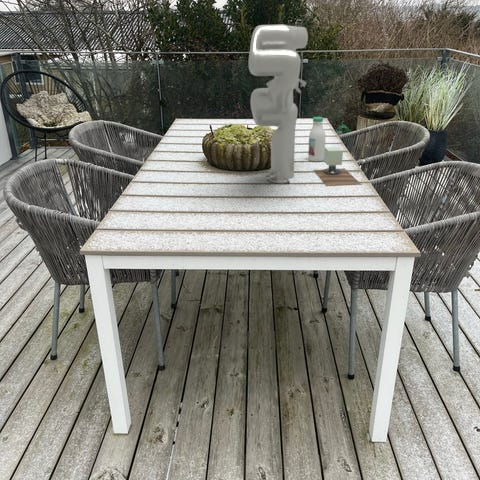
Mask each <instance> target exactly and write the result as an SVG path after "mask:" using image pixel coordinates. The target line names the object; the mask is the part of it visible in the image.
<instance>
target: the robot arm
mask: <svg viewBox="0 0 480 480" xmlns="http://www.w3.org/2000/svg"><path fill="white" fill-rule="evenodd" d="M308 39H309V34H308V30H307V28H306V27H305V26H295V25H287V24H284V23H282V24H261V25H260V24H259V25H257V26H256V27H255V28H254V30H253V32H252V34H251V40H250V46H249V48H250V49H249V55H248V70H249V72H250V74H251V75H253V76H255V77H271V76H272V77H274V78H273V79H271V80H270V81H268V82H266V83H265V84H266V87H260V88H256V89H253V91H252V92H251V95H250V110H251V114H252V118H253V121H254V124H255V125H256V126H258V127H276V129H275V131H274V132H273V133H272V134H271V137H270V162H271V163H270V169H268V172H267V173H262V175H261V177H262V179H267V180H268V182H270V183H272V184H273V183H275V184H291V182H290V180H291V179H294V177H295V147H296V145H295V143H296V141H295V139H296V125H297V118H298V110H299V109H298V106H297V105H296V104H298V103H299V102H300V100H301V93H302V91H304V90H305V87H306V85H307V81H306V80H303V79H301V78H299V77H300V72H301V56H300V54H299V53H298V52H297V50H298V49H304V48H306V46H307V44H308ZM299 83H301V86H300V87H299ZM294 90H295V91H296V92H295V103H294Z"/></svg>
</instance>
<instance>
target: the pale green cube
mask: <svg viewBox="0 0 480 480" xmlns="http://www.w3.org/2000/svg"><path fill="white" fill-rule="evenodd" d="M343 153H344V150H343V149H342V148H340V146H335V147H334V146H333V147H329V146H328V147H325V152H324V160H323V162H324V163H325V165H327V166H329V165H336V166H342V165H343V158H344V157H343Z"/></svg>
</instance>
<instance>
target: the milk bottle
mask: <svg viewBox="0 0 480 480" xmlns="http://www.w3.org/2000/svg"><path fill="white" fill-rule="evenodd" d="M323 122H324V117H322V116H313V117H312V124H313V125H312V128H310V131H309V135H308V160H309V161H311V162H324V152H325V148H326V131H325V129H324V127H323V126H324V125H323Z"/></svg>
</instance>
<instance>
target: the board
mask: <svg viewBox="0 0 480 480" xmlns="http://www.w3.org/2000/svg"><path fill="white" fill-rule="evenodd" d="M312 171H313V172H314V173H315V175H316V176H317V177H318V178H319V179H320V181H321V182H322V183H323V184H324V186H325V187H338V186H339V187H340V186H358V185H359V186H360V185H362V183H361V182H360V181H359V180H358V179H356V178H355V176H353V175H352V173H350V172H349V171H348V170H347V169H346V168H343V167H342V168H337V165H328V168H327V167H326V168H324V169H312Z"/></svg>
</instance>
